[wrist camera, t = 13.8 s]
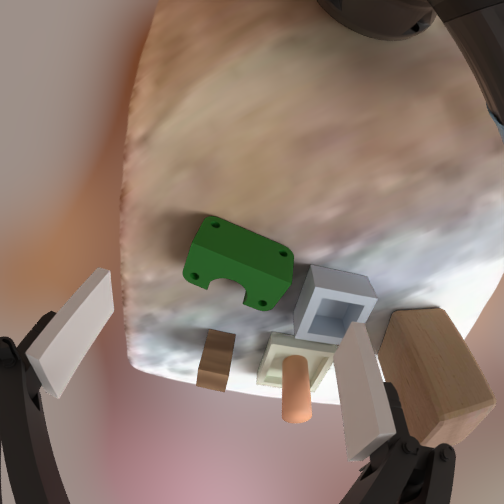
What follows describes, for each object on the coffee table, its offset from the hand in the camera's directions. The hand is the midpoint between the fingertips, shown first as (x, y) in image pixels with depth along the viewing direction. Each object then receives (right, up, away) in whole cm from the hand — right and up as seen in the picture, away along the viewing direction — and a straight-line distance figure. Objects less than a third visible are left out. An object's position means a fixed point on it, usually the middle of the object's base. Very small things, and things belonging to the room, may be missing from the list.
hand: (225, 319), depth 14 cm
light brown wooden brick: (-3, -10, +28) cm, 30 cm away
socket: (+12, -2, +23) cm, 26 cm away
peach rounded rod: (+8, -14, +28) cm, 32 cm away
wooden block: (+27, -9, +26) cm, 38 cm away
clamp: (0, +3, +22) cm, 22 cm away
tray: (+8, -14, +29) cm, 33 cm away
